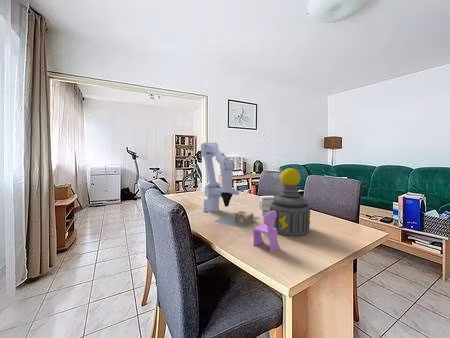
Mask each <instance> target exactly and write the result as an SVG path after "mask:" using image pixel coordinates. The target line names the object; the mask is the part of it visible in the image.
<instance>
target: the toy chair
mask: <svg viewBox="0 0 450 338" xmlns="http://www.w3.org/2000/svg"><path fill="white" fill-rule="evenodd" d="M276 217H277V212H276V211H271V212H269V213H267V214H266V215H265V216H263V224H261V225H259V226H254V228H253V230H252V233H253V242H252V243H253V244H252V245H253V246H257V245H259V244H261V243H264V240H263V236H262V234H264V235H266V236H267V239H268V241H269V253H273V252H275V251H277V250H278V249H280V245H279V241H278V233H277V228H274V222H275V219H276Z"/></svg>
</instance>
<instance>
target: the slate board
mask: <svg viewBox="0 0 450 338" xmlns="http://www.w3.org/2000/svg"><path fill="white" fill-rule="evenodd" d="M236 213H237V212H231V213H229V214H226V215H224V216H222V217H220V218H218V219H215V220H213V223H218V224H223V225H228V226H232V227H236V228H242V229H245V228H246V227H248V226H249V225H251V224H253V223H254V222H256V221H257V220H259V219H261V216H260V217H259V216H254V215H253V221H252V222H250V223H243V222H238V221H236Z"/></svg>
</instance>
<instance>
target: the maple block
mask: <svg viewBox="0 0 450 338" xmlns="http://www.w3.org/2000/svg"><path fill="white" fill-rule="evenodd" d="M235 213H236V221H238V222H243V223H250V222H252V221H253V216H254V213H253V212H250V211H249V212H248V211H243V210H240V211H238V212H235Z"/></svg>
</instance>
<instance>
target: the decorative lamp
mask: <svg viewBox="0 0 450 338" xmlns="http://www.w3.org/2000/svg"><path fill="white" fill-rule="evenodd" d="M300 180H301V175H300V172H299V171H298V170H297V169H296V168H291V167H290V168H289V167H288V168H285V169H284V170H282V172H281V174H280V181H281V183H282V188H281V192H280V194H276V195H273V196H274V197H273V201H274V202H272V203H271V206H270V212H271V211H276V212H277V217H276V219H275V222H274V228H277V235H278V234H279V235H282V236H287V237H301V236H305V235H307V233H308V232H309V231H310V226H311V210H310V208H309V207H310V205H308V200H307V198H306V197H304V196H302V195H300V193H299V189H298V185H299V183H300Z"/></svg>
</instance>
